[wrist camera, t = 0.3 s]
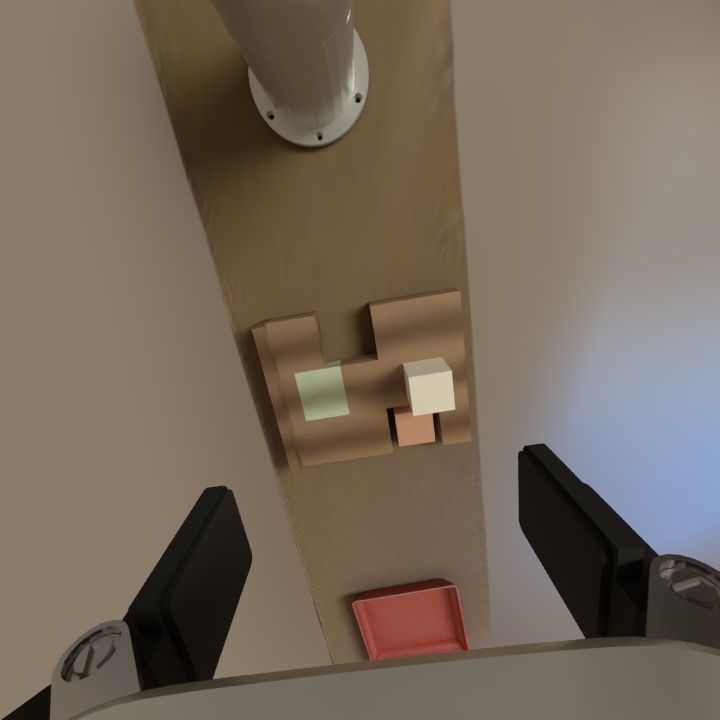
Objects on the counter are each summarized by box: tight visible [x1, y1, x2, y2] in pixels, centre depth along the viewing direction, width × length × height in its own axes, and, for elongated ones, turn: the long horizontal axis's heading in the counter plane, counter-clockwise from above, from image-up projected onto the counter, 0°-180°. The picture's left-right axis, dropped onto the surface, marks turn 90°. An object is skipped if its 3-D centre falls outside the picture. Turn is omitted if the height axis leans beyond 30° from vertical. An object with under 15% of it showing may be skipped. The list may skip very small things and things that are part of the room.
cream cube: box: [403, 357, 455, 416], centre depth 42 cm, size 5×5×5 cm
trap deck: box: [252, 288, 471, 477], centre depth 45 cm, size 21×25×5 cm
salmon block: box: [393, 405, 435, 447], centre depth 48 cm, size 5×5×4 cm
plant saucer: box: [352, 579, 469, 661], centre depth 61 cm, size 18×18×3 cm
